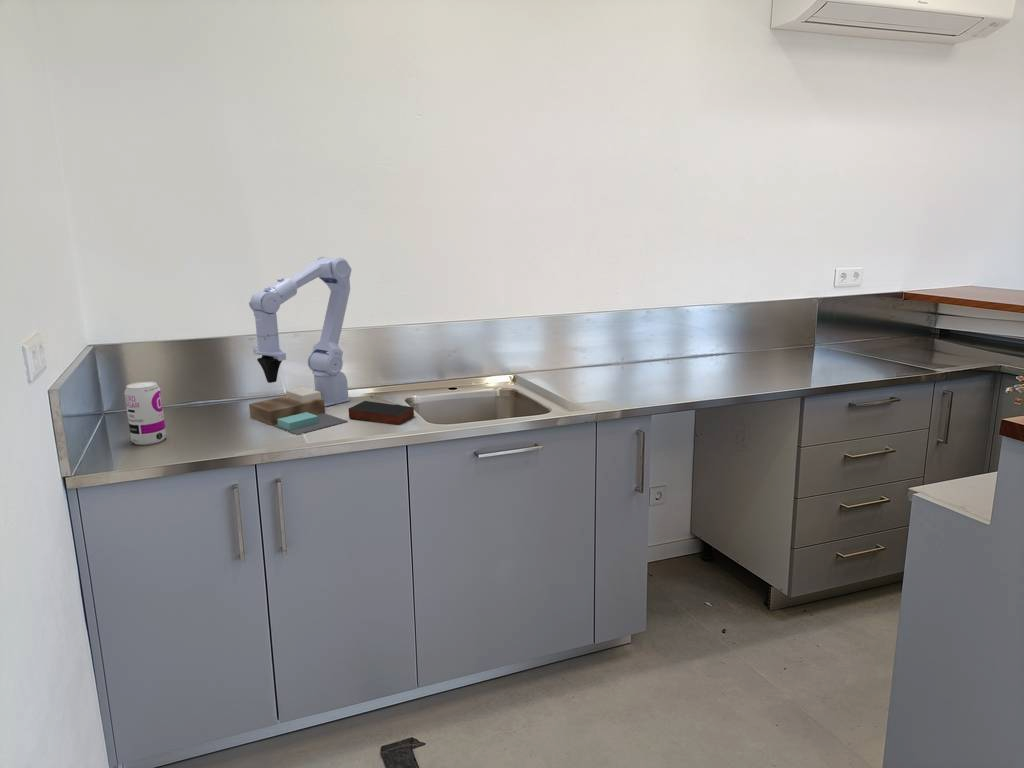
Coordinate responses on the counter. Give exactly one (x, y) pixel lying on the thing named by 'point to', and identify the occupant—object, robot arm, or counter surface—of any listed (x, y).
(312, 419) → the turquoise block
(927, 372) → the counter surface
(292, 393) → the cream flat block
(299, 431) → the mat
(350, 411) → the kitchen sponge
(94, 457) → the counter surface
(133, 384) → the supplement can
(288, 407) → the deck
